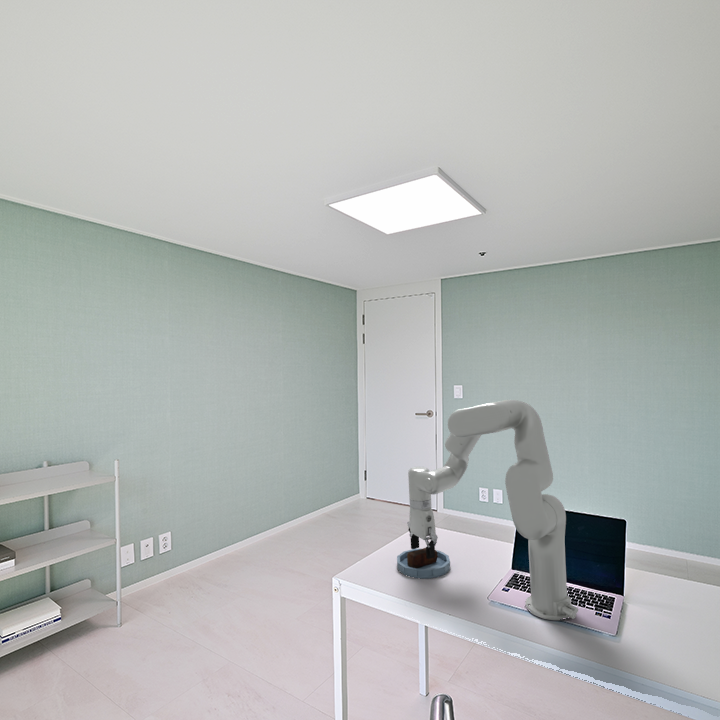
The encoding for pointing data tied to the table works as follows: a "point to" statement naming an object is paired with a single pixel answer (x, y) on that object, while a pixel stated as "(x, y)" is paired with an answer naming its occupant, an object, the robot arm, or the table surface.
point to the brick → (420, 558)
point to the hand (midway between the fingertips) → (422, 553)
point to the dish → (426, 571)
